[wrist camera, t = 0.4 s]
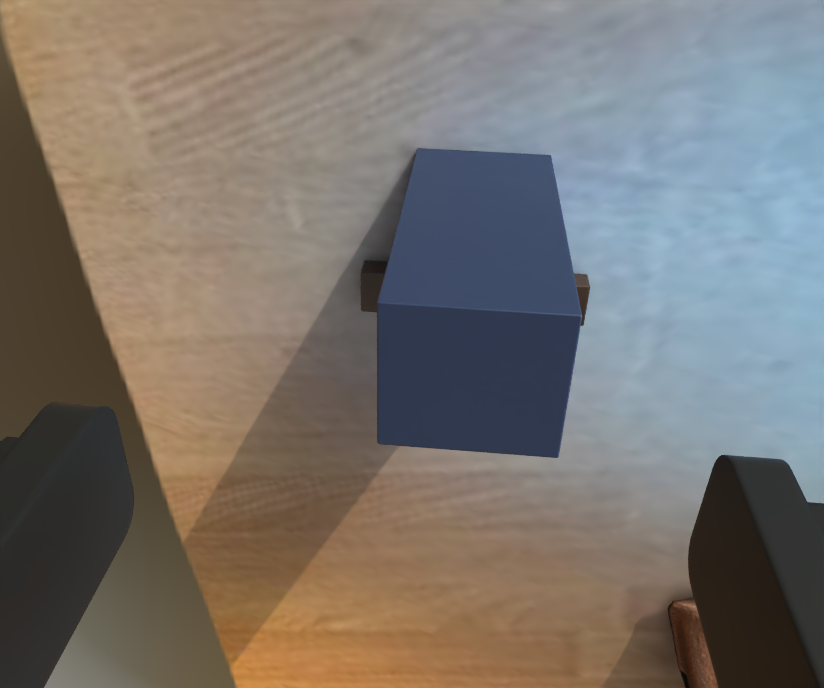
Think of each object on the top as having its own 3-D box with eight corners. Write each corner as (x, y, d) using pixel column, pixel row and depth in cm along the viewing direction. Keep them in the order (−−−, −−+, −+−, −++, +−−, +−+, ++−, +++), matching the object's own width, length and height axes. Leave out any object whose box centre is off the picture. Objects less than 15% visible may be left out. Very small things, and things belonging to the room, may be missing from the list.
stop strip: (364, 260, 35) (360, 272, 34) (587, 273, 34) (590, 286, 33) (364, 298, 36) (361, 311, 35) (581, 312, 35) (583, 326, 34)
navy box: (417, 147, 32) (377, 302, 21) (551, 155, 31) (582, 315, 20) (414, 257, 34) (377, 444, 23) (537, 264, 34) (558, 458, 23)
